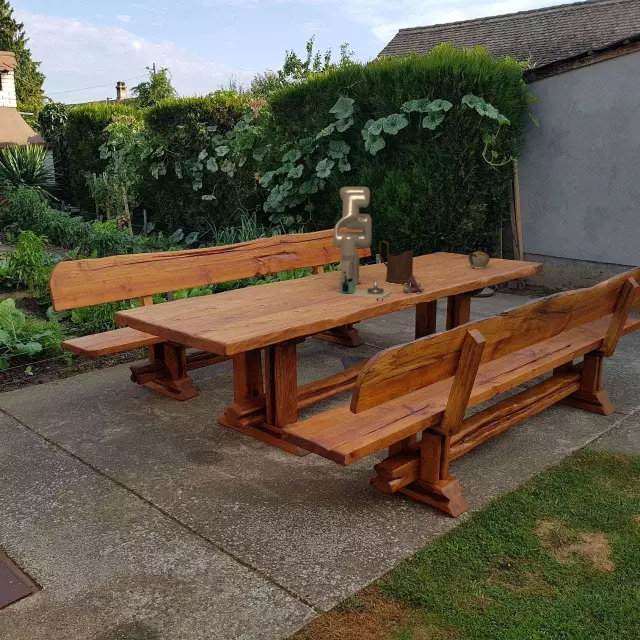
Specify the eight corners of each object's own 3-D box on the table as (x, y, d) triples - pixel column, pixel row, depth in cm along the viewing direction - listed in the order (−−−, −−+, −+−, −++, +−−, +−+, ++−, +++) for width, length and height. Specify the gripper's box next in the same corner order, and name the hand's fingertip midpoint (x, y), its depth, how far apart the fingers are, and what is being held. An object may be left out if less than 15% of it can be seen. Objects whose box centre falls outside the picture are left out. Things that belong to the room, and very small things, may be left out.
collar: (344, 290, 379) (344, 280, 377) (355, 290, 376) (355, 281, 375) (340, 292, 373) (340, 282, 372) (351, 292, 371) (351, 283, 369)
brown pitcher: (404, 286, 406) (405, 244, 400) (371, 282, 420) (371, 242, 415) (419, 282, 420) (421, 242, 415) (386, 278, 434) (387, 239, 429)
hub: (370, 290, 381) (370, 279, 380) (385, 292, 378) (385, 280, 377) (365, 293, 373) (365, 282, 372) (380, 294, 370) (381, 283, 369)
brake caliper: (396, 288, 385) (408, 270, 386) (409, 298, 390) (420, 281, 391) (407, 291, 375) (418, 273, 376) (420, 302, 380) (431, 284, 381)
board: (346, 291, 389) (346, 288, 389) (391, 294, 379) (391, 291, 379) (334, 296, 372) (334, 294, 371) (381, 300, 362) (381, 297, 362)
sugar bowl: (478, 265, 491) (479, 245, 488) (495, 268, 480) (496, 246, 477) (461, 268, 479) (461, 247, 476) (477, 270, 468) (478, 249, 465)
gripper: (346, 255, 379) (346, 287, 384) (336, 260, 364) (335, 292, 368) (359, 256, 377) (359, 288, 381) (349, 260, 361) (348, 293, 365)
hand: (347, 290), depth 374 cm, fingers closed on collar, 6 cm apart
